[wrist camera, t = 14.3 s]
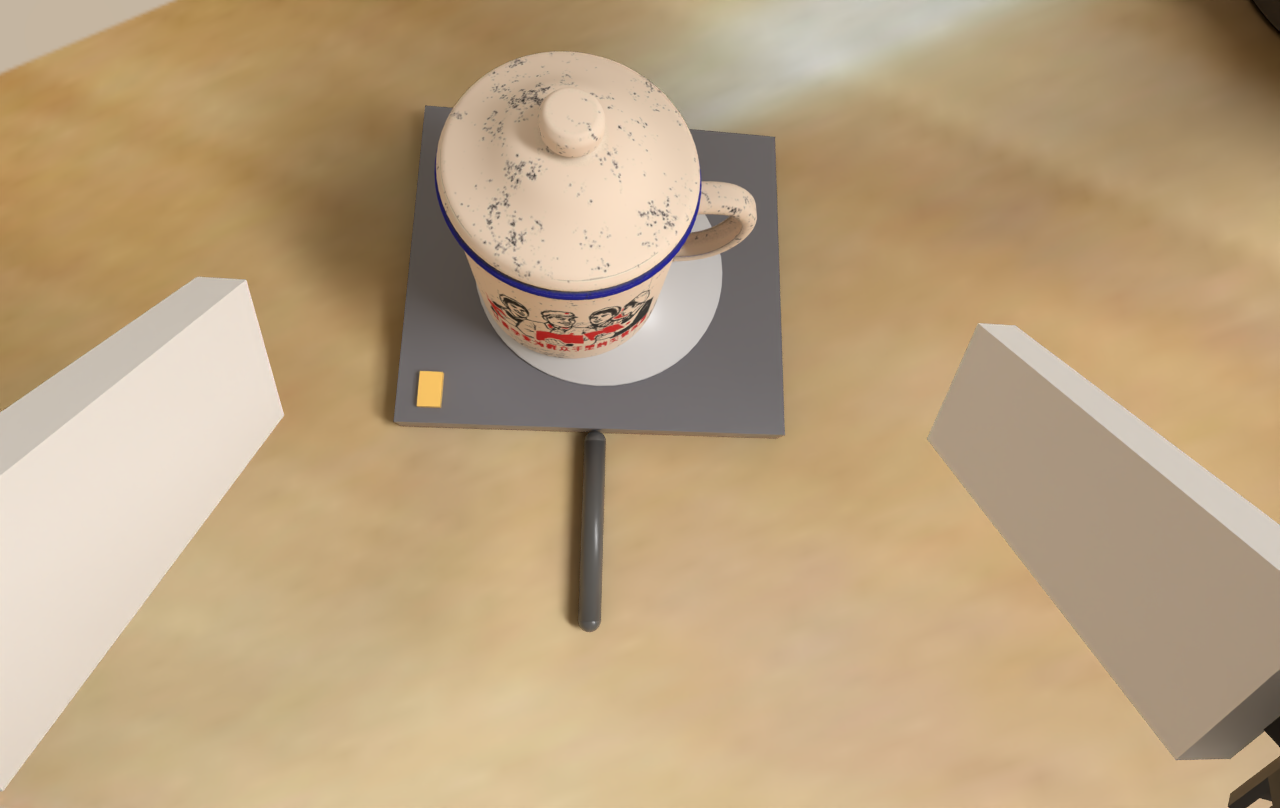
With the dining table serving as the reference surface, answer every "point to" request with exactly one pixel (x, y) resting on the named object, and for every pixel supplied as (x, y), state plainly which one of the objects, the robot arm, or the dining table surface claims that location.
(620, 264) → the teacup with lid
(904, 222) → the dining table surface
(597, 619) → the warming pad
